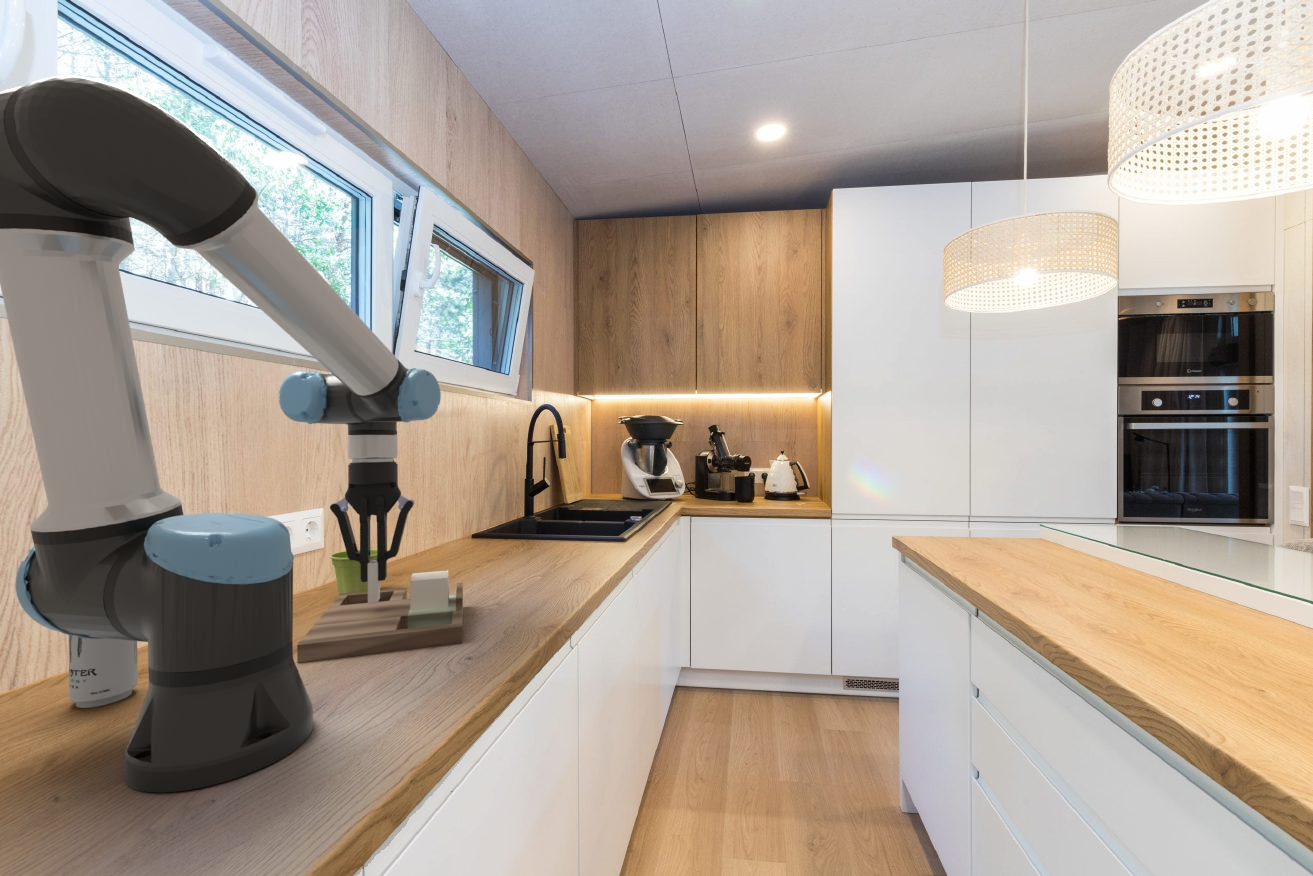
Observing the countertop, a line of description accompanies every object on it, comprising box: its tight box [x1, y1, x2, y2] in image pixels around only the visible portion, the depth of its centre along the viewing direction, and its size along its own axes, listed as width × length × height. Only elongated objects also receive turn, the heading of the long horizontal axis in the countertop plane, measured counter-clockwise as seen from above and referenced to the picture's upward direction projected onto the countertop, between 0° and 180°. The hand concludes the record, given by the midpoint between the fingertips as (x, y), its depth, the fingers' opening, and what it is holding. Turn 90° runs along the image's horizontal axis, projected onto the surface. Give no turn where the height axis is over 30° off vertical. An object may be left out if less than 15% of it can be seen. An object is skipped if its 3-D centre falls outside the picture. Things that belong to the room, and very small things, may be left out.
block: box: [409, 569, 450, 611], centre depth 100 cm, size 6×6×5 cm
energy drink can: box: [68, 635, 139, 709], centre depth 70 cm, size 6×6×15 cm
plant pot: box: [329, 548, 377, 596], centre depth 115 cm, size 9×9×9 cm
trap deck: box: [296, 582, 464, 664], centre depth 97 cm, size 29×22×4 cm
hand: (374, 600), depth 96 cm, fingers closed
